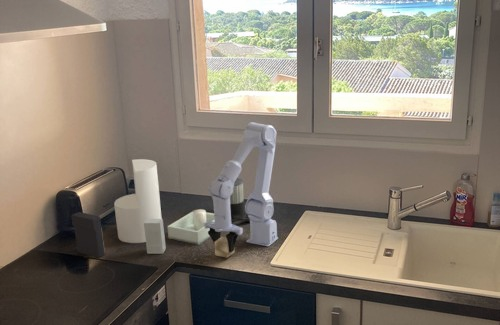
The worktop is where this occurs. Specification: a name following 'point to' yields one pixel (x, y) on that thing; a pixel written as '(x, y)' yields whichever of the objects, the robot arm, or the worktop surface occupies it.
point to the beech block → (222, 247)
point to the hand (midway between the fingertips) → (224, 249)
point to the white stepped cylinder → (139, 203)
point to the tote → (189, 229)
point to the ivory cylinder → (199, 218)
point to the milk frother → (238, 201)
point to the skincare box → (154, 236)
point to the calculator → (88, 234)
